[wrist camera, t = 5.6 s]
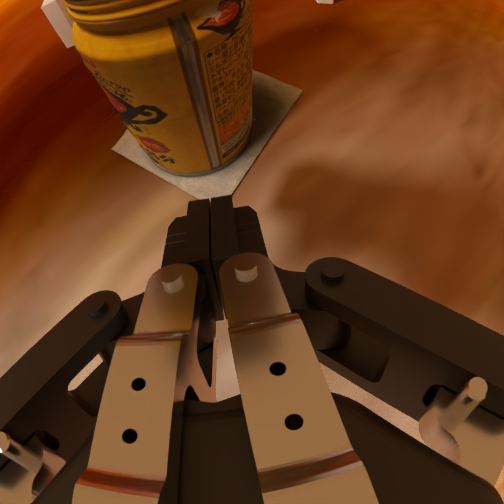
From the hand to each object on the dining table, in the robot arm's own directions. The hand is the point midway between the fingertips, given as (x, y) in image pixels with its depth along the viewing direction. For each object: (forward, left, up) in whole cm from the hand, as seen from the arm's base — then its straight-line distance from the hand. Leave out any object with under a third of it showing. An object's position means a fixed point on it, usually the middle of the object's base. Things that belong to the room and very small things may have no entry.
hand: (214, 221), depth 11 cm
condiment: (0, +7, -4) cm, 8 cm away
